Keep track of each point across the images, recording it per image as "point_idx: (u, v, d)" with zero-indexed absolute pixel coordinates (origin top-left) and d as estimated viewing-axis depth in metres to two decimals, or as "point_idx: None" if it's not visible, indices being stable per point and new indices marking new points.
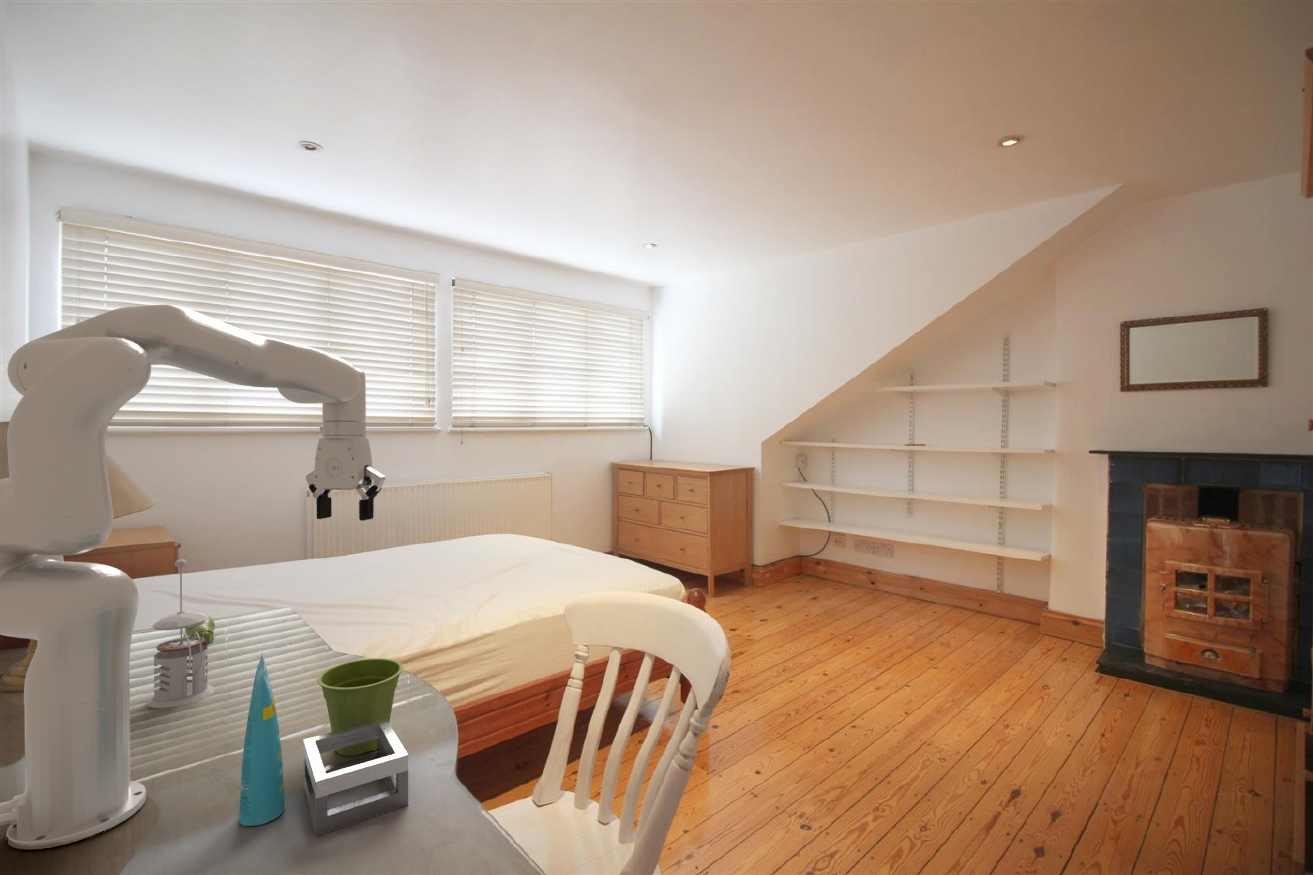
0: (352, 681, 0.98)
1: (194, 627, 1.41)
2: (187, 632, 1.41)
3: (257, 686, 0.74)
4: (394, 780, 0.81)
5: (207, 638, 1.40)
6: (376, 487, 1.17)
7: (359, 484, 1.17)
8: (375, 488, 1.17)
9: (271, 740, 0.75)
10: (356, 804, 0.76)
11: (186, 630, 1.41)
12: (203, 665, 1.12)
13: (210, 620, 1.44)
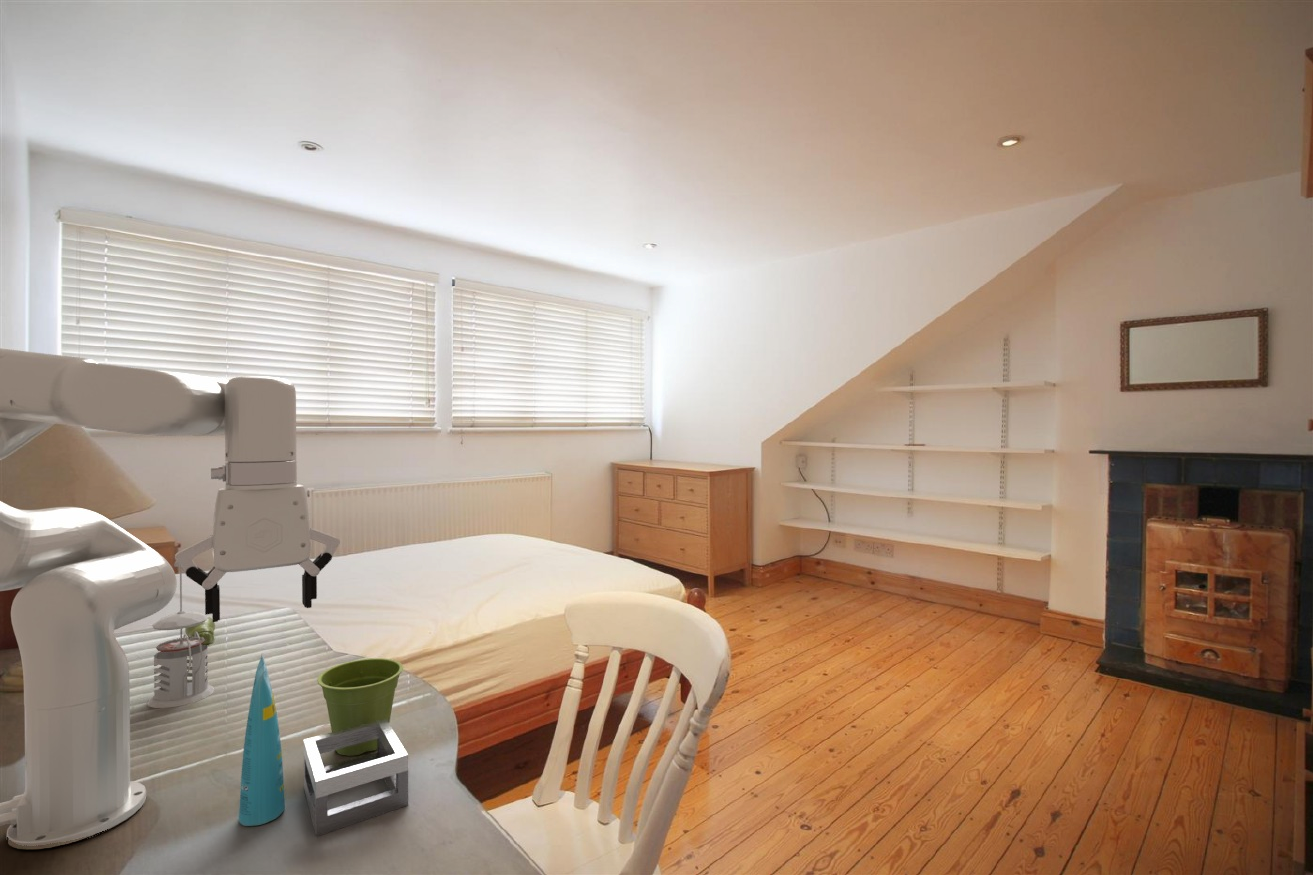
0: (352, 681, 0.98)
1: (195, 627, 1.40)
2: (187, 632, 1.41)
3: (257, 686, 0.74)
4: (394, 780, 0.81)
5: (207, 638, 1.40)
6: (331, 555, 0.81)
7: (309, 554, 0.78)
8: (330, 557, 0.81)
9: (270, 740, 0.75)
10: (356, 804, 0.76)
11: (186, 630, 1.41)
12: (203, 665, 1.12)
13: (210, 620, 1.44)
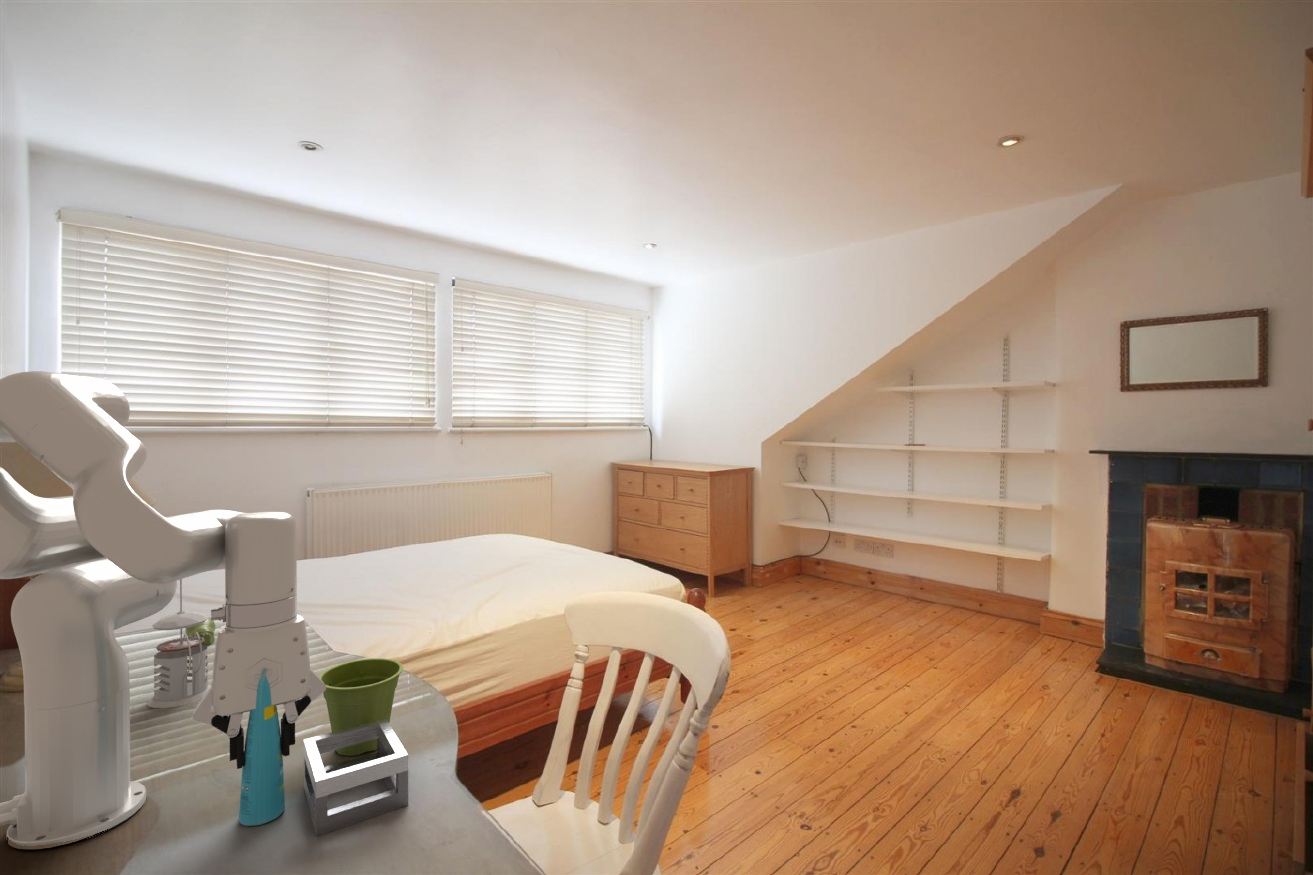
0: (352, 681, 0.98)
1: (195, 628, 1.40)
2: (187, 633, 1.40)
3: (259, 685, 0.74)
4: (394, 780, 0.81)
5: (208, 639, 1.39)
6: (310, 698, 0.79)
7: (309, 688, 0.78)
8: (309, 702, 0.79)
9: (271, 740, 0.75)
10: (356, 804, 0.76)
11: (186, 631, 1.40)
12: (203, 665, 1.12)
13: (211, 621, 1.43)
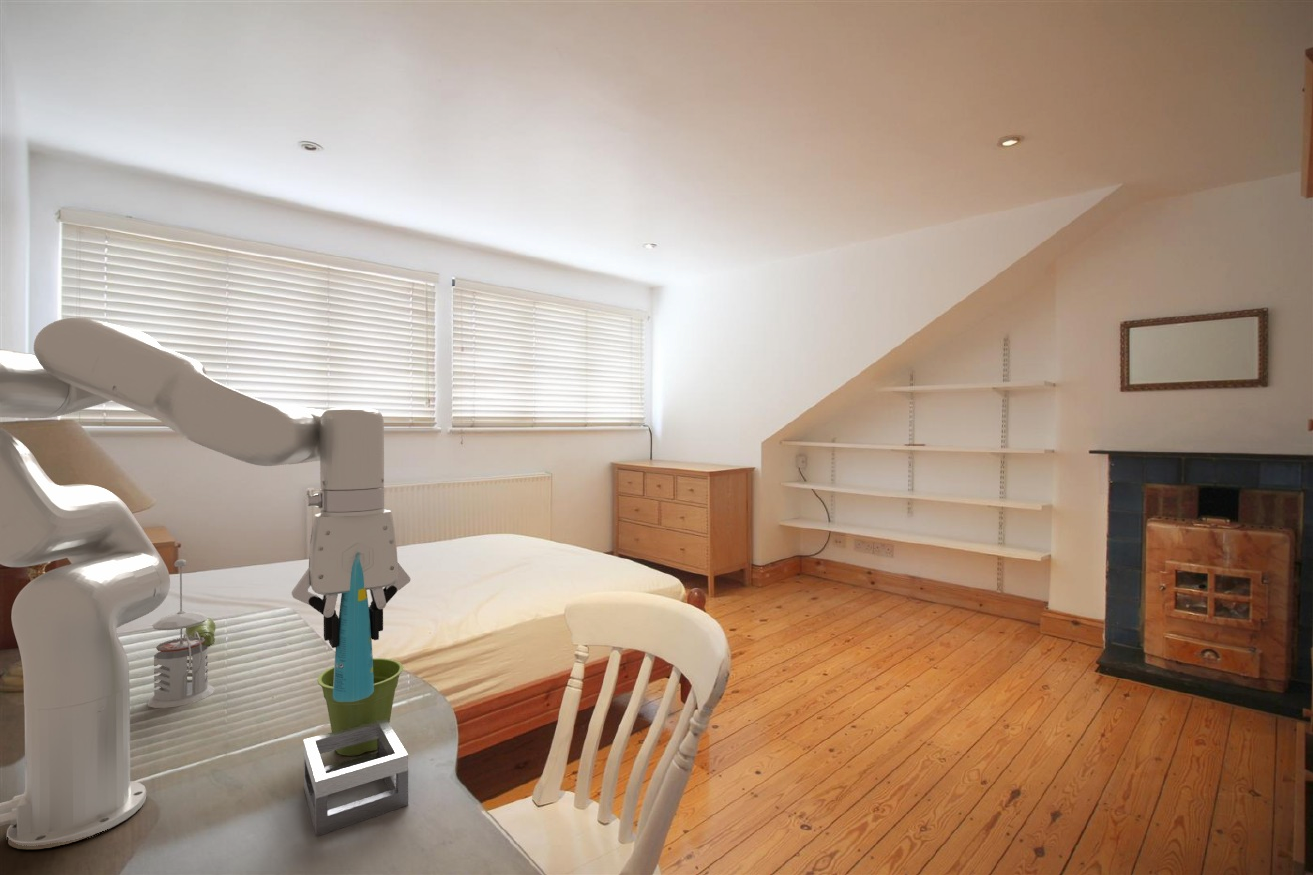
0: None
1: (195, 629, 1.39)
2: (188, 634, 1.40)
3: (353, 568, 0.78)
4: (394, 780, 0.81)
5: (208, 640, 1.39)
6: (396, 588, 0.83)
7: None
8: (395, 591, 0.83)
9: (364, 621, 0.79)
10: (356, 804, 0.76)
11: (187, 632, 1.40)
12: (203, 665, 1.12)
13: (211, 622, 1.43)
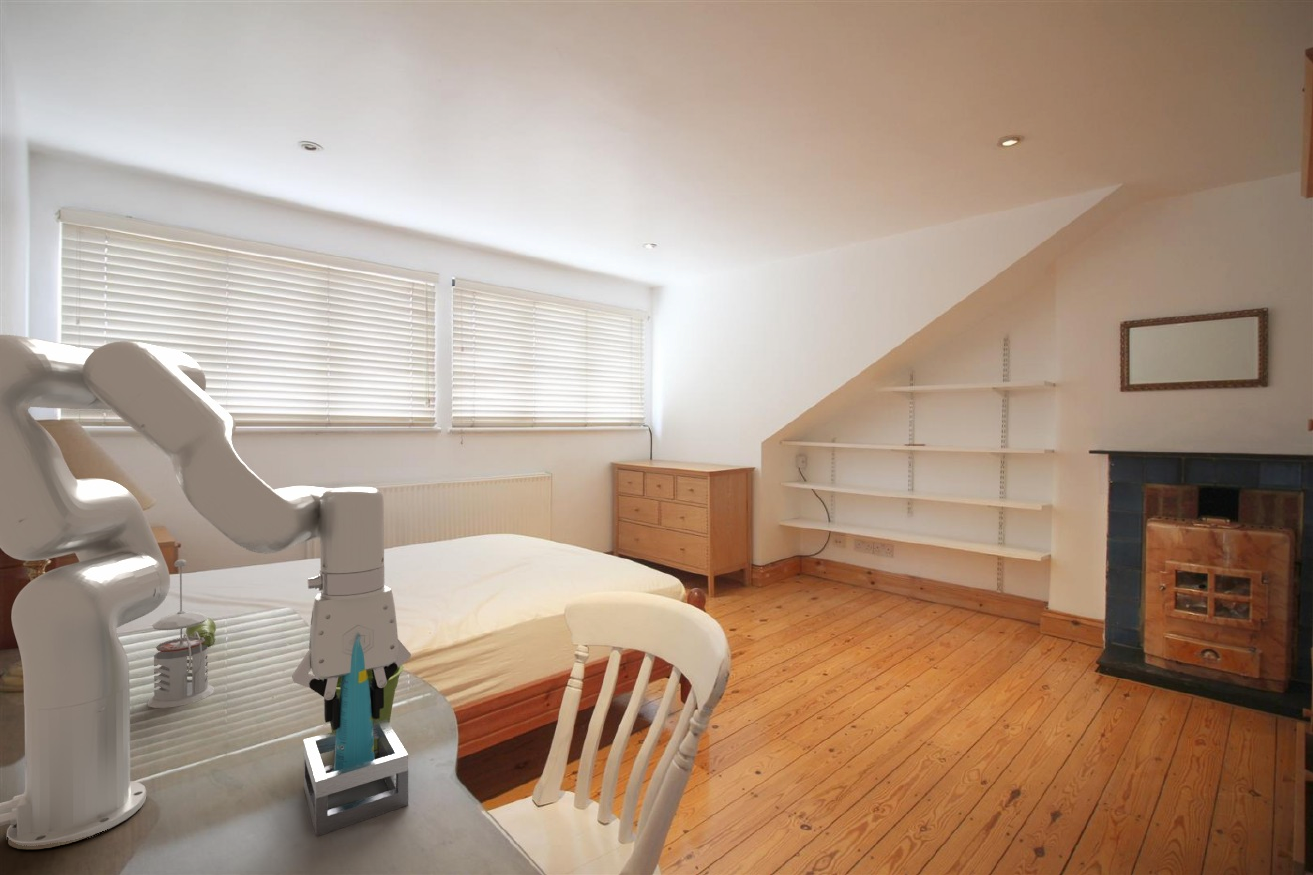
0: None
1: (195, 629, 1.39)
2: (188, 634, 1.39)
3: (353, 650, 0.78)
4: (394, 780, 0.81)
5: (208, 640, 1.38)
6: (397, 664, 0.83)
7: None
8: (396, 668, 0.83)
9: (365, 702, 0.79)
10: (356, 804, 0.76)
11: (187, 632, 1.40)
12: (203, 665, 1.12)
13: (211, 622, 1.43)
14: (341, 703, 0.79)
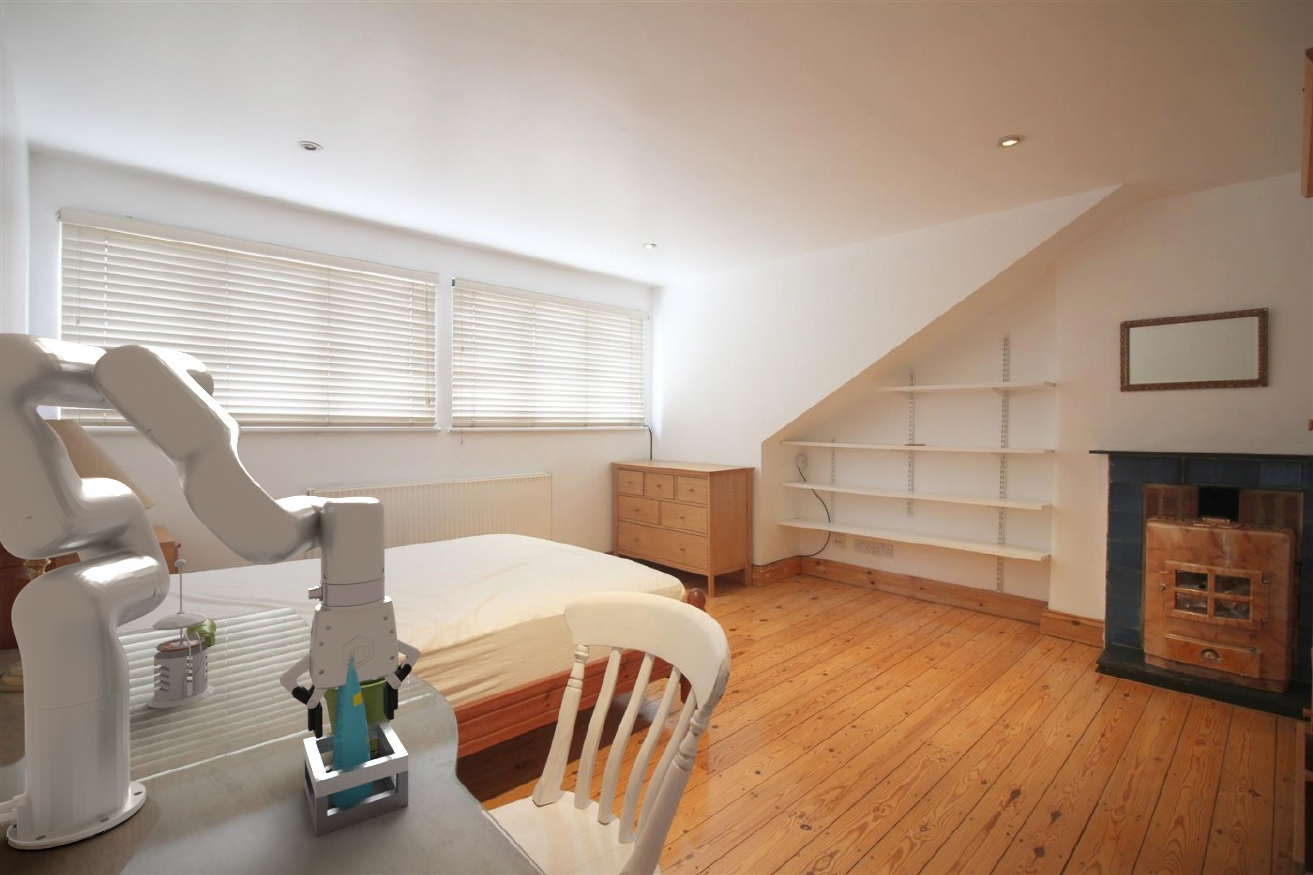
0: None
1: (196, 629, 1.39)
2: (188, 634, 1.39)
3: (348, 674, 0.78)
4: (394, 780, 0.81)
5: (208, 640, 1.38)
6: (411, 666, 0.84)
7: None
8: (410, 668, 0.84)
9: (360, 725, 0.79)
10: (356, 804, 0.76)
11: (187, 632, 1.39)
12: (203, 665, 1.12)
13: (211, 622, 1.42)
14: (337, 726, 0.78)
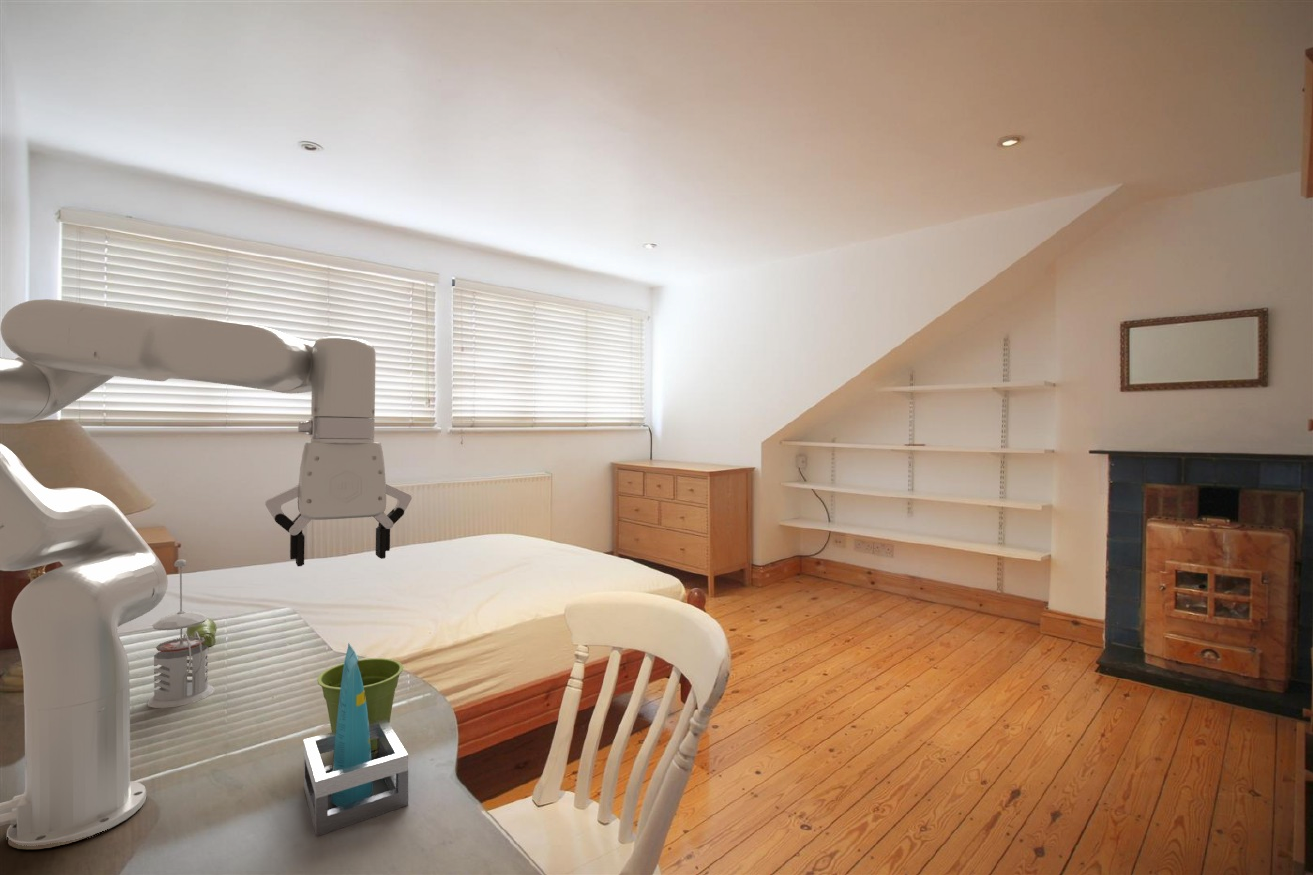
0: None
1: (196, 630, 1.39)
2: (188, 635, 1.39)
3: (351, 673, 0.78)
4: (394, 780, 0.81)
5: (209, 641, 1.38)
6: (403, 510, 0.85)
7: None
8: (403, 511, 0.85)
9: (362, 725, 0.79)
10: (356, 804, 0.76)
11: (187, 633, 1.39)
12: (203, 665, 1.12)
13: (212, 623, 1.42)
14: (339, 726, 0.79)
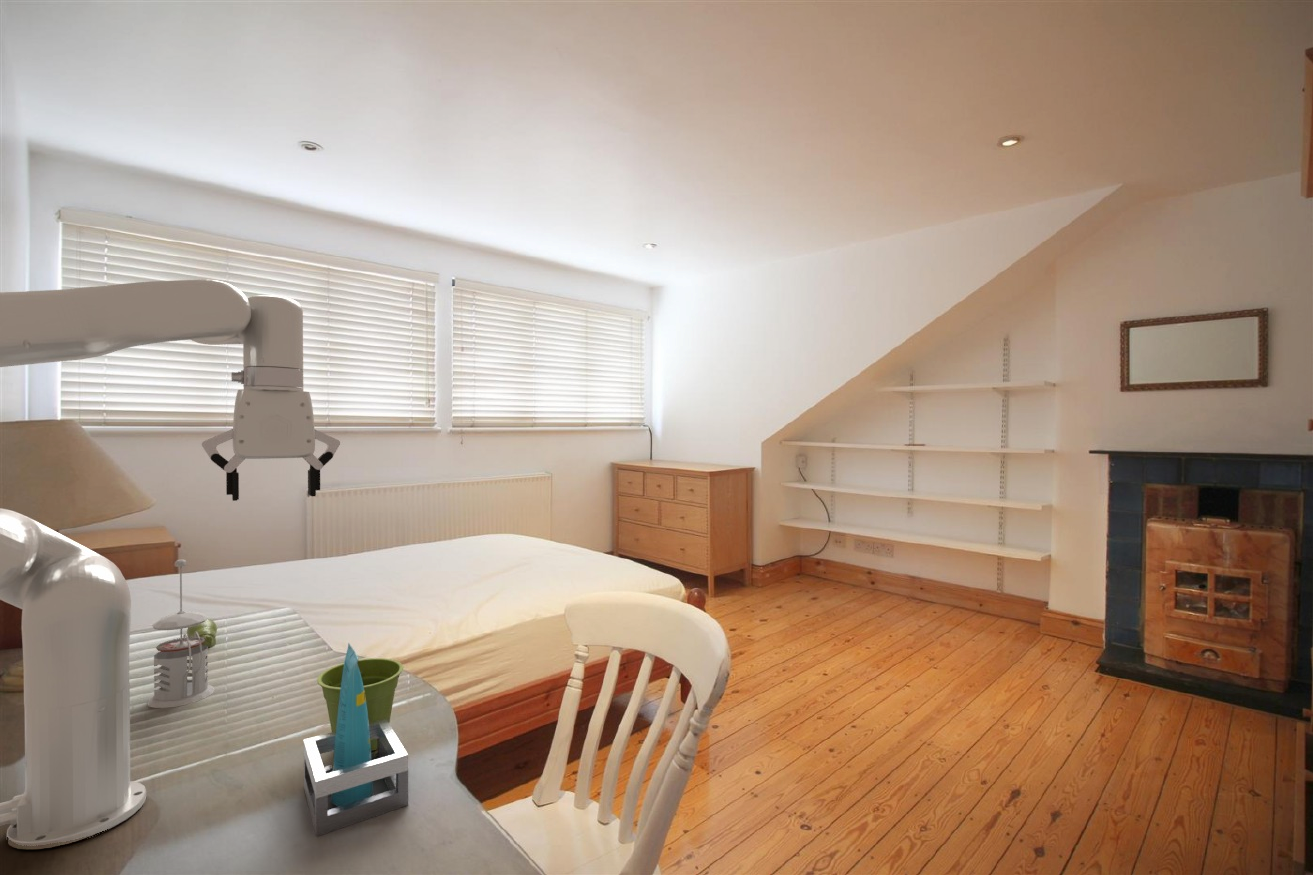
0: None
1: (196, 630, 1.38)
2: (189, 635, 1.39)
3: (351, 673, 0.78)
4: (394, 780, 0.81)
5: (209, 641, 1.38)
6: (332, 454, 0.95)
7: (314, 450, 0.92)
8: (332, 455, 0.95)
9: (362, 725, 0.79)
10: (356, 804, 0.76)
11: (188, 633, 1.39)
12: (203, 665, 1.12)
13: (212, 623, 1.42)
14: (339, 726, 0.79)
